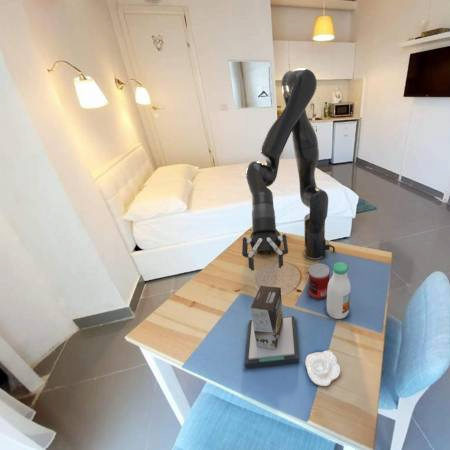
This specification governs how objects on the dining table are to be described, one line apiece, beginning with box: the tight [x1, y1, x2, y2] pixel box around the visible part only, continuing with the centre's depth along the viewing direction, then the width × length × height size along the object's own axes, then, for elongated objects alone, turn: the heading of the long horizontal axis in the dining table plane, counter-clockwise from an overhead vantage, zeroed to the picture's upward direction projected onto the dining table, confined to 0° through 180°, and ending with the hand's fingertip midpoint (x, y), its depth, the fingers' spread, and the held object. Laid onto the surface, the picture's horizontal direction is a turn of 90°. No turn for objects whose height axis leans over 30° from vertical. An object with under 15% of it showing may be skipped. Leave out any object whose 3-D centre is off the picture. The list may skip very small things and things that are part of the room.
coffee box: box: [250, 285, 284, 350], centre depth 73 cm, size 9×6×16 cm
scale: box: [244, 315, 299, 370], centre depth 77 cm, size 15×15×3 cm
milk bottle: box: [326, 261, 352, 320], centre depth 84 cm, size 8×8×20 cm
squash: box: [249, 228, 282, 255], centre depth 121 cm, size 14×15×15 cm
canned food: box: [308, 263, 331, 300], centre depth 94 cm, size 8×8×11 cm
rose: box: [304, 350, 341, 387], centre depth 69 cm, size 10×4×10 cm
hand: (266, 269), depth 77 cm, fingers open, 8 cm apart
